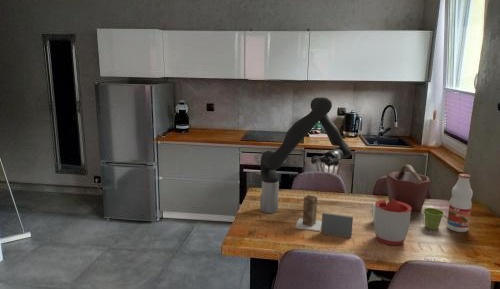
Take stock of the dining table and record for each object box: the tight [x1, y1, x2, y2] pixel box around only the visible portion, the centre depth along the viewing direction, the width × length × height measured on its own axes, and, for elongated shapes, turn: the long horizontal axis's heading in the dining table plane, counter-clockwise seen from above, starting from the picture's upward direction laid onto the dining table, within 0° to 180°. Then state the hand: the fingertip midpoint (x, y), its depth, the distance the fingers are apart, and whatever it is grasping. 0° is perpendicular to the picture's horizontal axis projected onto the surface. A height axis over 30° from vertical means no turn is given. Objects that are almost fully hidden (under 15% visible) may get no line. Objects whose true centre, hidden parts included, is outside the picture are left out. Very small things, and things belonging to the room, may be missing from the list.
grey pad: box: [294, 217, 322, 233], centre depth 186 cm, size 12×12×1 cm
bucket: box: [386, 164, 431, 214], centre depth 210 cm, size 24×22×25 cm
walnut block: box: [302, 194, 318, 227], centre depth 184 cm, size 5×5×14 cm
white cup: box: [372, 201, 388, 224], centre depth 190 cm, size 8×8×10 cm
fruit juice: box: [446, 173, 474, 233], centre depth 182 cm, size 9×9×28 cm
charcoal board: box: [320, 212, 354, 239], centre depth 174 cm, size 14×2×10 cm, turn 72°
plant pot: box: [423, 207, 445, 231], centre depth 185 cm, size 9×9×9 cm
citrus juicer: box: [373, 199, 412, 246], centre depth 170 cm, size 16×17×20 cm
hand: (320, 163), depth 189 cm, fingers open, 8 cm apart
